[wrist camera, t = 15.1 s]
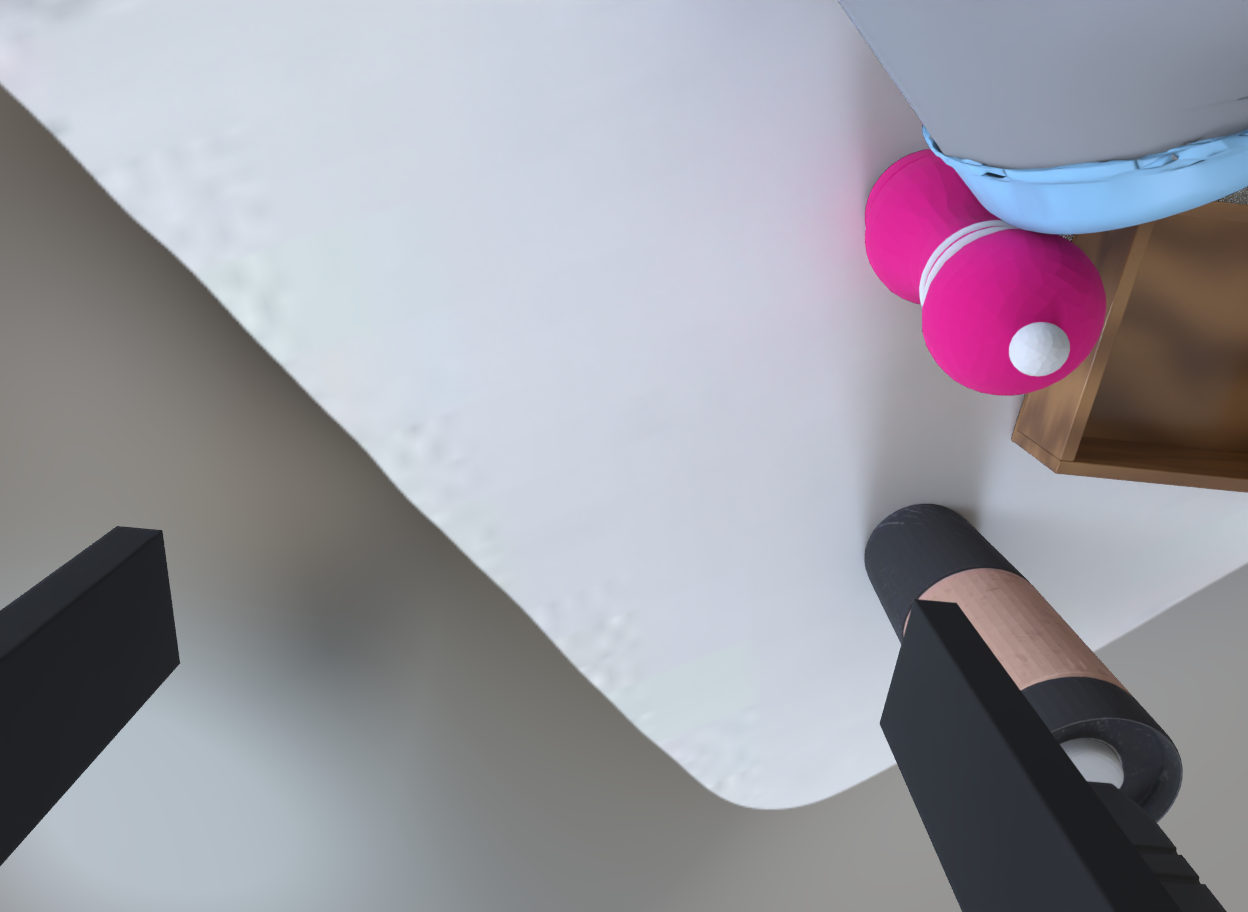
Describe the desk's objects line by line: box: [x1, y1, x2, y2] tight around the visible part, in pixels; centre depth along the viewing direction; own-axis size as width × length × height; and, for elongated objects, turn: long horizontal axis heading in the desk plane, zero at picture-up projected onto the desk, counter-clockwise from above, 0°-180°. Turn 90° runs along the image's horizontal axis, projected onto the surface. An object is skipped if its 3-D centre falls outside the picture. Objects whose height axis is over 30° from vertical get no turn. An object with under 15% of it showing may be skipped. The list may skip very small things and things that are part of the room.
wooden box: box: [1011, 201, 1248, 493], centre depth 42 cm, size 15×17×5 cm
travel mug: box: [865, 504, 1182, 823], centre depth 41 cm, size 8×8×20 cm
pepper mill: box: [865, 149, 1106, 395], centre depth 33 cm, size 7×7×20 cm
